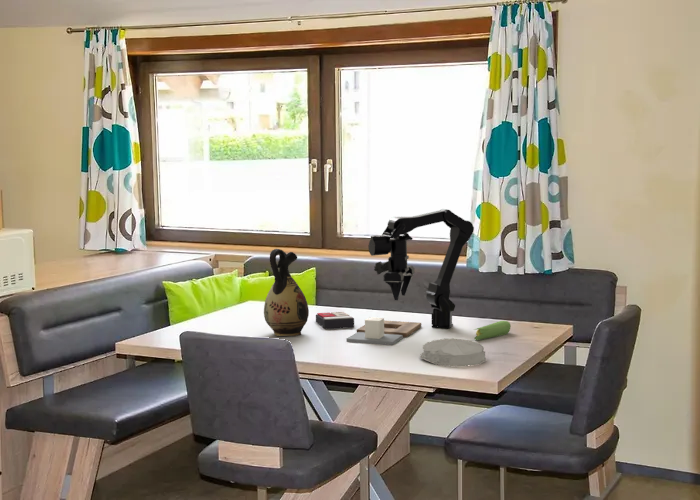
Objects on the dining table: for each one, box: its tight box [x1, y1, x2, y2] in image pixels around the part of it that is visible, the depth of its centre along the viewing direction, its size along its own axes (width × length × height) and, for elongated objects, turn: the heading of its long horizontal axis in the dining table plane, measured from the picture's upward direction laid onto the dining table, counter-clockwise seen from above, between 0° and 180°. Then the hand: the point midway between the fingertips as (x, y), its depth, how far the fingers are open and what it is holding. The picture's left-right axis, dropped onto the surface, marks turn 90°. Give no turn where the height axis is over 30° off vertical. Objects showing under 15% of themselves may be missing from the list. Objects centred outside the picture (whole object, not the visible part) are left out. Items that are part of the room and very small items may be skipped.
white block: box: [364, 316, 385, 339], centre depth 289 cm, size 5×5×6 cm
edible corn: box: [473, 320, 511, 342], centre depth 292 cm, size 5×20×5 cm
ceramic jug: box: [263, 248, 310, 337], centre depth 297 cm, size 17×15×30 cm
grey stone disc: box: [419, 337, 487, 367], centre depth 262 cm, size 20×20×7 cm
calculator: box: [315, 311, 355, 330], centre depth 315 cm, size 11×4×15 cm
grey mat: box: [346, 331, 404, 346], centre depth 289 cm, size 16×11×1 cm
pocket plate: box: [356, 319, 422, 338], centre depth 304 cm, size 18×18×2 cm
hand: (399, 297), depth 302 cm, fingers open, 9 cm apart
